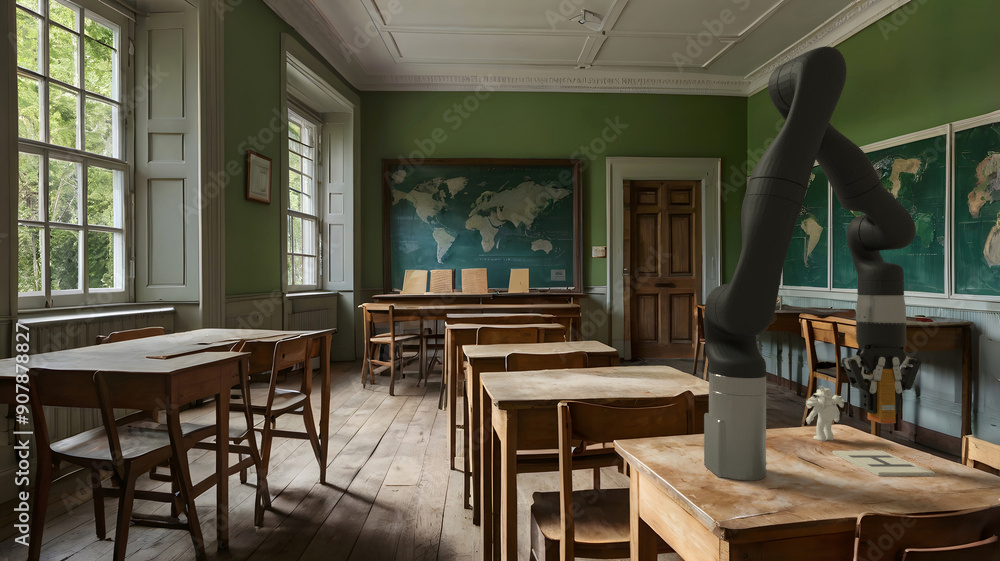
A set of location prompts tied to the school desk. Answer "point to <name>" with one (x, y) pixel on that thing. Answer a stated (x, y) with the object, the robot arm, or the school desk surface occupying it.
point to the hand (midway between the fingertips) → (881, 412)
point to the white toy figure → (824, 412)
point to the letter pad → (883, 463)
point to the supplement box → (885, 399)
